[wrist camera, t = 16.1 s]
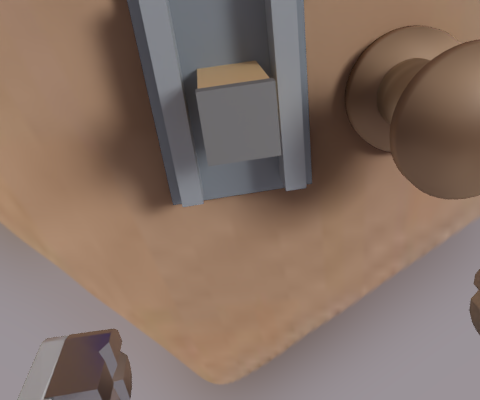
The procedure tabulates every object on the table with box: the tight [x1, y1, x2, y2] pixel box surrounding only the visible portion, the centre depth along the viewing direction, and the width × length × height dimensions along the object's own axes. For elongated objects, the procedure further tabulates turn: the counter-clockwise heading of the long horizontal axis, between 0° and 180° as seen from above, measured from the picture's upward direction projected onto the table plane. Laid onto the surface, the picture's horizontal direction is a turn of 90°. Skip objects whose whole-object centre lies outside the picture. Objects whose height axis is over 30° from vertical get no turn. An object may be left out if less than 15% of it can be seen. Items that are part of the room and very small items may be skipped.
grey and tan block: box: [195, 61, 281, 166], centre depth 26 cm, size 4×4×7 cm
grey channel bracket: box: [127, 0, 312, 207], centre depth 28 cm, size 16×11×4 cm
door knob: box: [345, 26, 480, 199], centre depth 27 cm, size 9×9×9 cm
